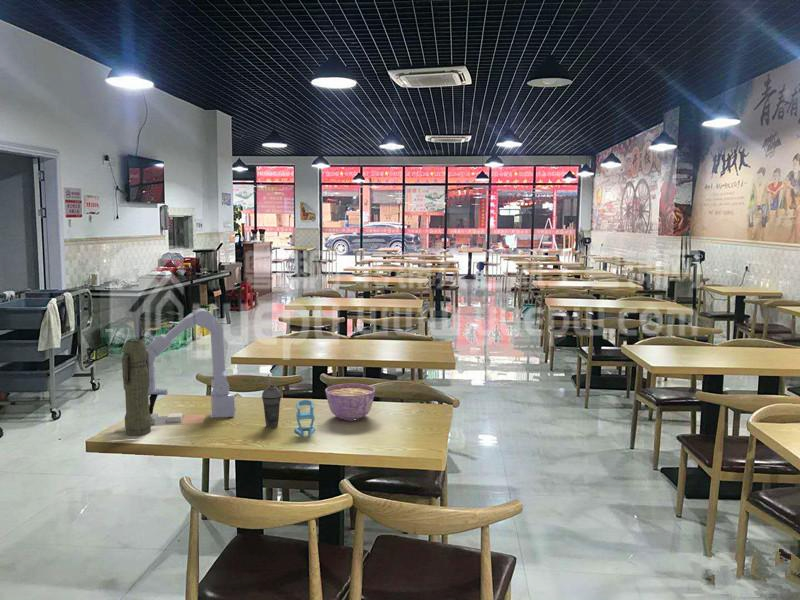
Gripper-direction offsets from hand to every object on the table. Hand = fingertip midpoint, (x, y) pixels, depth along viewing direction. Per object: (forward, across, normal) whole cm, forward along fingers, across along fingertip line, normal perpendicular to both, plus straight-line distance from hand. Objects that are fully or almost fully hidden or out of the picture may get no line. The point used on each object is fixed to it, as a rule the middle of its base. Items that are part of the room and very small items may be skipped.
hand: (148, 413), depth 253 cm
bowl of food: (+4, +78, -8) cm, 78 cm away
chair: (+4, +59, -24) cm, 64 cm away
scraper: (+3, 0, 0) cm, 3 cm away
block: (+3, +10, 0) cm, 10 cm away
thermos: (+4, -2, -13) cm, 14 cm away
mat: (+4, +9, 0) cm, 10 cm away
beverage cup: (+4, +47, -13) cm, 49 cm away
